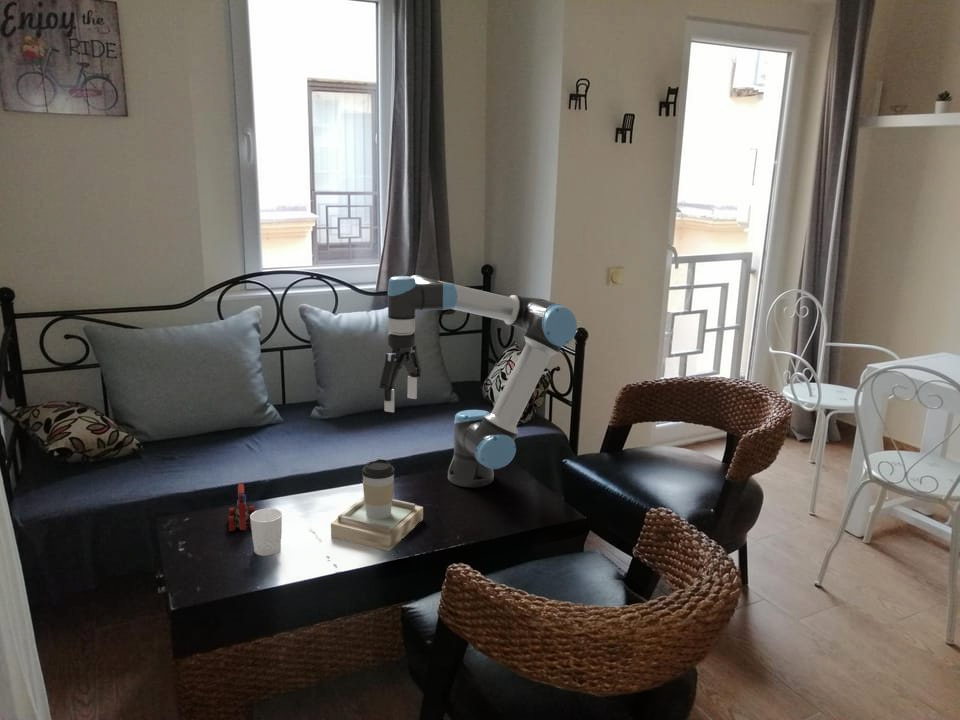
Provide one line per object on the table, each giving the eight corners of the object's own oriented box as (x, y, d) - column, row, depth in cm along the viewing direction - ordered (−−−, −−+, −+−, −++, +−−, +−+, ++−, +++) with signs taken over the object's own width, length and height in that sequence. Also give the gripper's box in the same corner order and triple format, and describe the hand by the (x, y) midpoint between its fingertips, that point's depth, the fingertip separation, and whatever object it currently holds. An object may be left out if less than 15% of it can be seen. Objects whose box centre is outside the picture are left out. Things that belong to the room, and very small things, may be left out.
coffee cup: (388, 522, 197) (388, 471, 193) (357, 518, 199) (356, 468, 195) (398, 508, 206) (399, 459, 202) (368, 504, 207) (368, 456, 203)
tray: (368, 507, 215) (368, 490, 214) (422, 519, 209) (423, 502, 207) (331, 536, 197) (330, 518, 196) (388, 551, 191) (388, 532, 189)
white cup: (245, 553, 187) (243, 518, 185) (264, 539, 194) (262, 506, 192) (271, 559, 185) (269, 524, 182) (289, 545, 192) (287, 511, 189)
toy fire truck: (229, 537, 195) (226, 501, 193) (229, 516, 207) (227, 483, 204) (255, 534, 198) (254, 499, 195) (254, 513, 209) (253, 480, 206)
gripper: (410, 323, 214) (409, 391, 219) (366, 339, 191) (367, 415, 197) (433, 325, 211) (431, 395, 216) (391, 342, 188) (391, 419, 194)
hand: (401, 404), depth 206 cm, fingers open, 13 cm apart
